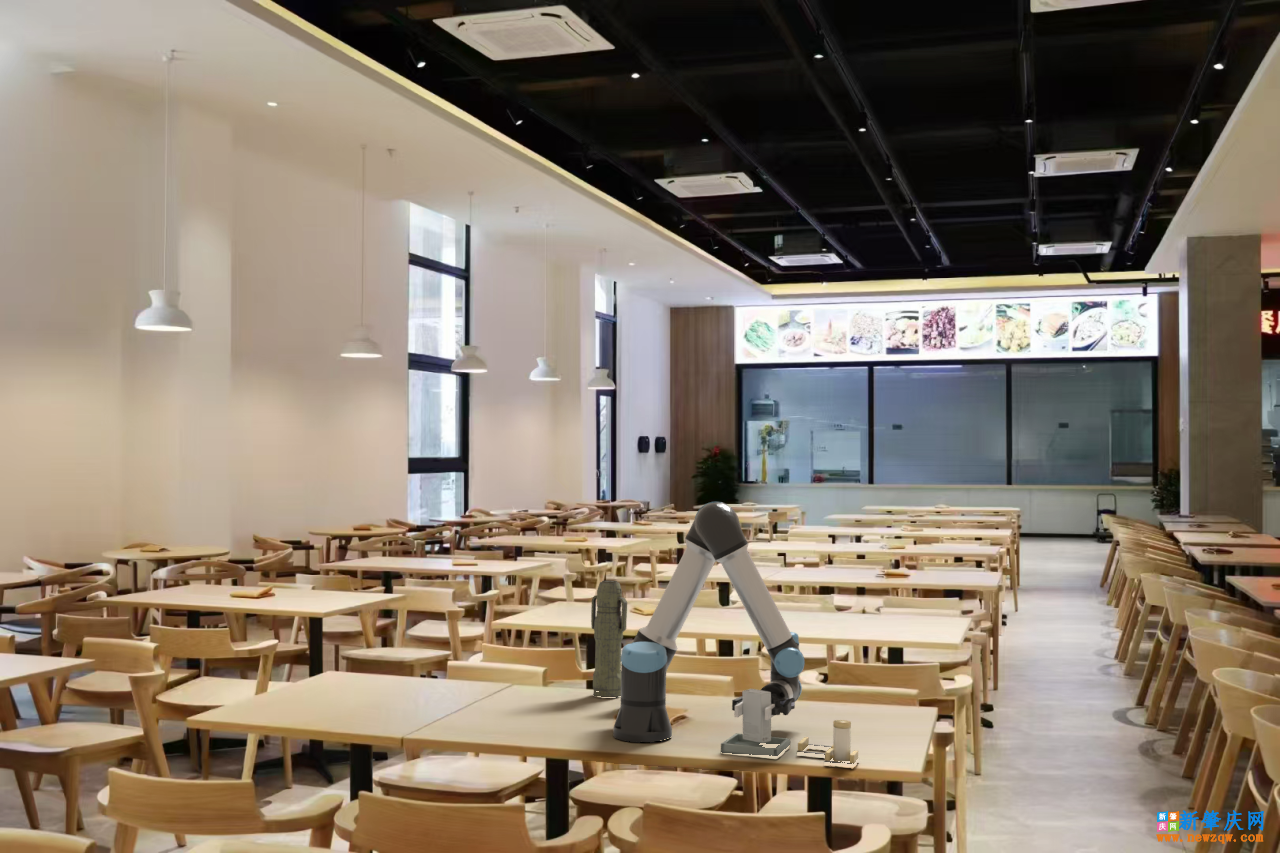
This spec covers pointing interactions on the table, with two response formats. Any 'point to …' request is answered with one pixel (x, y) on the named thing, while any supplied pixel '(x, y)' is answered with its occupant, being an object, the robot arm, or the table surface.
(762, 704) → the skincare box
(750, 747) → the tray
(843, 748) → the fuse
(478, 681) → the table surface
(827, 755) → the cream flat frame
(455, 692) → the table surface
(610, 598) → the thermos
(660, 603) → the robot arm
